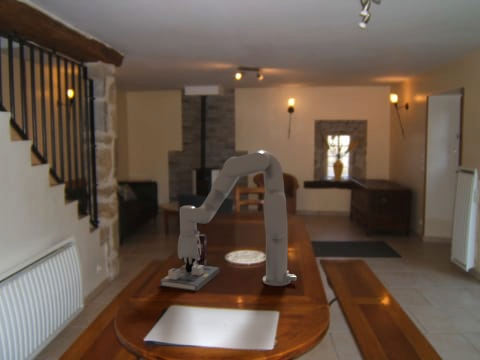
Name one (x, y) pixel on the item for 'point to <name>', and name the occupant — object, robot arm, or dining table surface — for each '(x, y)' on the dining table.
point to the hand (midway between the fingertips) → (189, 271)
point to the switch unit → (190, 279)
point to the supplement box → (202, 250)
